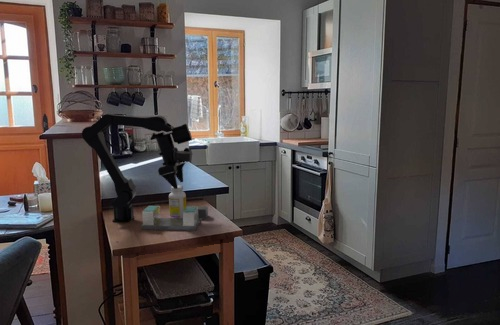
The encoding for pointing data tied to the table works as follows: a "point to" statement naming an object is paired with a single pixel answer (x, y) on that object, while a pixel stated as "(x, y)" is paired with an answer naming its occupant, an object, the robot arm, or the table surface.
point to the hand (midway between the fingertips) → (179, 185)
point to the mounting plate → (170, 220)
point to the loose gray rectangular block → (202, 212)
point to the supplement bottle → (177, 202)
